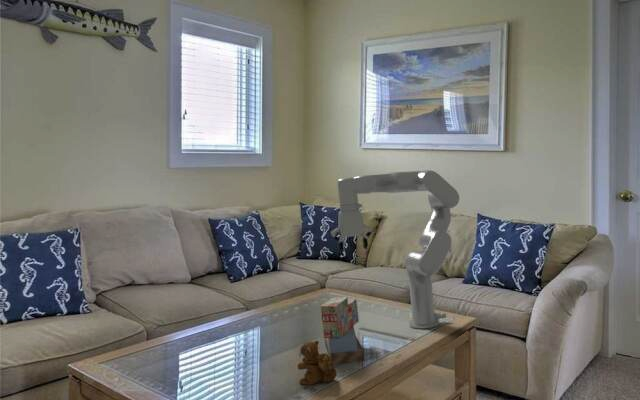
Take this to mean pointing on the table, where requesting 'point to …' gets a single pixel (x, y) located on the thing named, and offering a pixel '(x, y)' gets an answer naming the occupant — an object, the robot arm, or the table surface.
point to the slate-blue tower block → (344, 342)
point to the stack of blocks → (338, 316)
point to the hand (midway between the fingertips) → (353, 250)
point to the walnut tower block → (346, 354)
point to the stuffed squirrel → (316, 365)
